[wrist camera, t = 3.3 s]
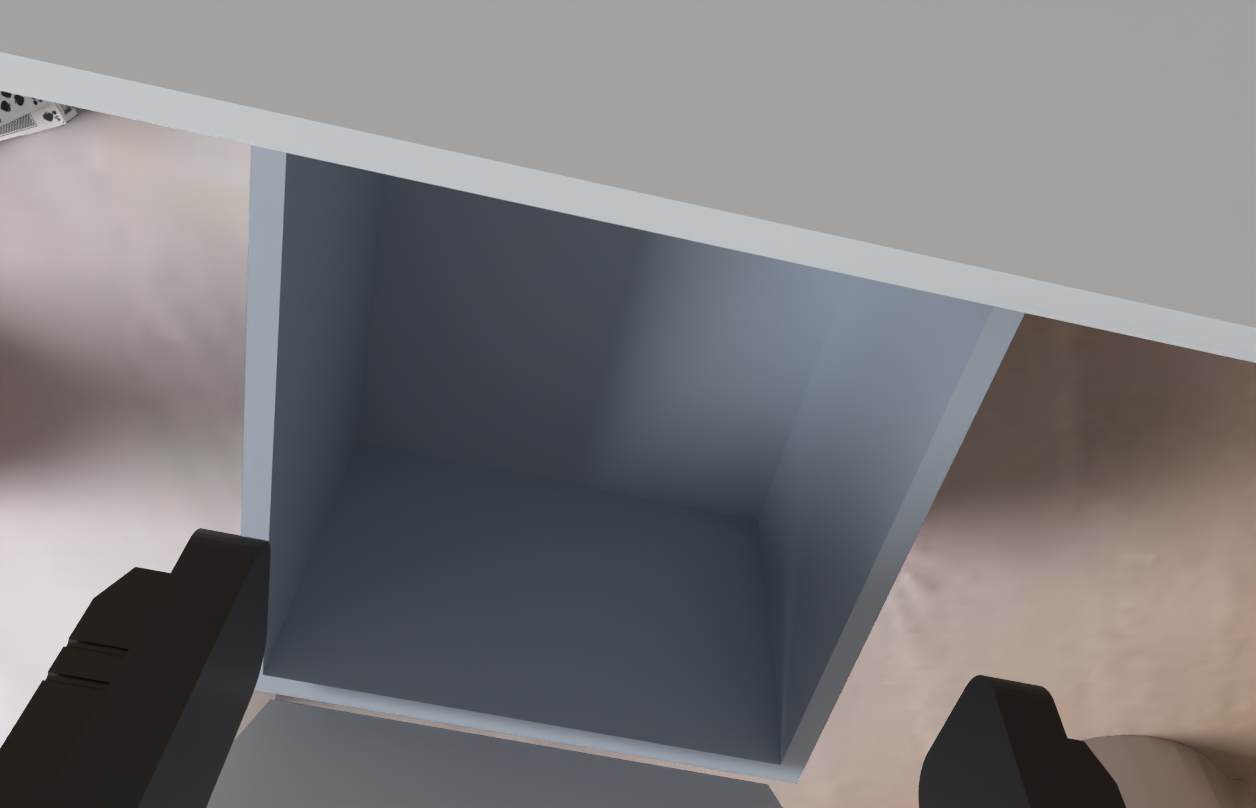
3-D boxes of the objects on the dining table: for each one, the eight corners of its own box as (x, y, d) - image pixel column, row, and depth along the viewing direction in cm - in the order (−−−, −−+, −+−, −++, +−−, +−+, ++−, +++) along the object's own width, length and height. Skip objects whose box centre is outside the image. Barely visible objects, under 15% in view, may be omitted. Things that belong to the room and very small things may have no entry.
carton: (1144, -458, 22) (1432, -530, 13) (769, 525, 36) (796, 783, 28) (439, -659, 20) (278, -877, 12) (341, 442, 35) (236, 687, 27)
